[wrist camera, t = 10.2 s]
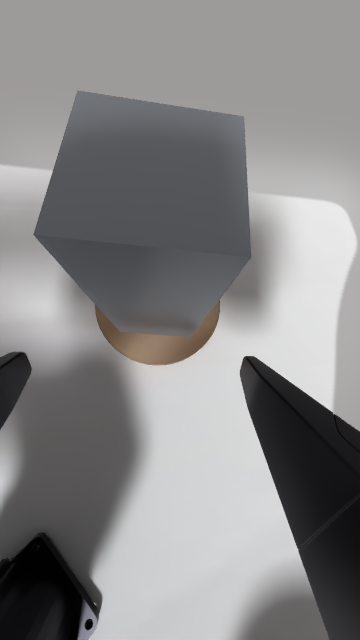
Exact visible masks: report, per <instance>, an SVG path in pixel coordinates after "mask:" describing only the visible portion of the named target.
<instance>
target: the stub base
mask: <svg viewBox="0 0 360 640" xmlns="http://www.w3.org/2000/svg"><path fill="white" fill-rule="evenodd" d="M95 310H96V317H97V321H98V324H99V327H100V329H101V331H102V333H103V335H104V336H105V338H106V339H107V340H108V342H109V343H110V344H111V345H112V346H113V347H114V348H115V349H116V350H118V351H119V352H120V353H122V354H123V355H125V356H126V357H128V358H130V359H132V360H134V361H137V362H140V363H144V364H148V365H167V364H173V363H176V362H179V361H182V360H184V359H186V358H188V357H190V356H191V355H193V354H194V353H196V352H197V351H198V350H199V349H200V348H202V347H203V346H204V345H205V343H206V342H207V341H208V340H209V339H210V337H211V336H212V334H213V332H214V330H215V328H216V325H217V322H218V319H219V313H220V300H219V301H218V302H217V303H216V305H215V306H214V307H213V309H212V310H211V311H210V312H209V314H208V315H207V316H206V318H205V319H204V320H203V322H202V323H201V324H200V326H199V327H198V328H197V330H196V331H195V332H194V334H193V335H192V336H191V337H184V336H170V335H156V334H142V333H128V332H120V331H119V330H118V329H117V328H116V327H115V326H114V324H113V323H112V322H111V321H110V320H109V319H108V318H107V317H106V316H105V314H104V313H103V312H102V311H101V310H100V309H99V308H98V307H97V305H96V304H95Z"/></svg>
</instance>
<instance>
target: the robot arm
mask: <svg viewBox="0 0 360 640" xmlns="http://www.w3.org/2000/svg"><path fill="white" fill-rule="evenodd" d="M31 370H32V369H31V365H30V362H29V360H28V357H27V355H26V353H24V352H11V353H9V354H6V355H4V356H2V357H0V429H1V428H2V426H3V424H4V423H5V421H6V420H7V418H8V416H9V415H10V413H11V411H12V410H13V408H14V406H15V404H16V402H17V400H18V398H19V396H20V394H21V392H22V390H23V388H24V386H25V384H26V382H27V380H28V378H29V376H30V374H31ZM240 377H241V382H242V386H243V390H244V394H245V399H246V403H247V407H248V410H249V413H250V416H251V419H252V422H253V424H254V427H255V430H256V433H257V436H258V439H259V441H260V444H261V447H262V450H263V453H264V455H265V458H266V461H267V464H268V467H269V469H270V472H271V475H272V478H273V481H274V484H275V486H276V489H277V492H278V495H279V498H280V500H281V503H282V506H283V509H284V512H285V514H286V517H287V520H288V523H289V526H290V529H291V531H292V534H293V537H294V540H295V543H296V545H297V548H298V549H299V554H300V557H301V560H302V563H303V566H304V568H305V571H306V574H307V577H308V580H309V582H310V585H311V588H312V591H313V594H314V597H315V599H316V602H317V605H318V608H319V611H320V613H321V616H322V619H323V622H324V625H325V627H326V630H327V633H328V636H329V639H330V640H360V431H358V430H356V429H355V428H354V427H352V426H351V425H349V424H348V423H346V422H345V421H344V420H342V419H341V418H340V417H338V416H337V415H335V414H334V415H333V413H332V412H331V411H330V410H328V409H327V408H326V407H324V406H323V405H321V404H320V403H319V402H317V401H316V400H314V399H313V398H312V397H310V396H309V395H307V394H306V393H305V392H303V391H302V390H300V389H299V388H298V387H296V386H295V385H293V384H292V383H291V382H289V381H288V380H286V379H285V378H284V377H282V376H281V375H280V374H278V373H277V372H275V371H274V370H273V369H271V368H270V367H268V366H267V365H266V364H264V363H263V362H261V361H260V360H259V359H257V358H256V357H254V356H245V357H244V358H243V362H242V365H241V369H240ZM36 542H39V543H40V545H41V546H40V547H38V546H37V545H36ZM88 619H92V620H93V622H90V623H89V622H88V621H87V620H88ZM98 619H99V611H98V609H97V608H96V606H95V605H94V603H93V602H92V600H91V599H90V597H89V596H88V594H87V593H86V592H85V590H84V589H83V587H82V586H81V584H80V583H79V581H78V580H77V579H76V577H75V576H74V574H73V573H72V571H71V570H70V568H69V567H68V565H67V564H66V563H65V561H64V560H63V558H62V557H61V555H60V554H59V552H58V551H57V550H56V548H55V547H54V545H53V544H52V542H51V541H50V539H49V538H48V536H47V535H46V534H45V533H42V532H41V533H38V534H37V535H35V536H34V537H33V538H32V539H31V540H30V541H29V542H28V544H27V545H26V546H25V547H24V548H23V549H22V550H21V551H20V552H19V553H18V554H17V555H16V556H15V557H14V558H13V559H12V560H11V561H9V559H8V558H7V559H2V560H1V561H0V640H88V639H89V638H90V636H91V635H92V634H93V633H94V631H95V629H96V627H97V623H98Z"/></svg>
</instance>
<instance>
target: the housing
mask: <svg viewBox="0 0 360 640" xmlns="http://www.w3.org/2000/svg"><path fill="white" fill-rule="evenodd" d="M34 236H35V237H36V238H37V239H38V240H39V241H40V242H41V244H42V245H43V246H44V247H45V248H46V249H47V250H48V251H49V253H50V254H51V255H52V256H53V257H54V258H55V259H56V260H57V262H58V263H59V264H60V265H61V266H62V267H63V268H64V269H65V271H66V272H67V273H68V274H69V275H70V276H71V277H72V278H73V280H74V281H75V282H76V283H77V284H78V285H79V286H80V287H81V289H82V290H83V291H84V292H85V293H86V294H87V295H88V296H89V298H90V299H91V300H92V301H93V302H94V303H95V304H96V305H97V307H98V308H99V309H100V310H101V311H102V312H103V313H104V314H105V316H106V317H107V318H108V319H109V320H110V321H111V322H112V323H113V324H114V326H115V327H116V328H117V329H118V330H119V331H120V332H128V333H142V334H156V335H170V336H184V337H191V336H192V335H193V334H194V332H195V331H196V330H197V328H198V327H199V326H200V324H201V323H202V322H203V320H204V319H205V318H206V316H207V315H208V314H209V312H210V311H211V310H212V309H213V307H214V306H215V305H216V303H217V302H218V301H219V299H220V298H221V297H222V295H223V294H224V293H225V291H226V290H227V289H228V287H229V286H230V285H231V283H232V282H233V281H234V279H235V278H236V277H237V275H238V274H239V273H240V271H241V270H242V269H243V267H244V266H245V265H246V263H247V262H248V261H249V259H250V258H251V247H250V227H249V207H248V188H247V168H246V147H245V128H244V117H243V116H237V115H231V114H224V113H218V112H211V111H205V110H199V109H192V108H185V107H179V106H173V105H167V104H159V103H153V102H147V101H141V100H135V99H128V98H122V97H115V96H109V95H103V94H96V93H90V92H83V91H77V94H76V97H75V101H74V104H73V107H72V111H71V114H70V117H69V121H68V124H67V127H66V130H65V134H64V137H63V140H62V143H61V147H60V150H59V153H58V156H57V160H56V163H55V166H54V169H53V173H52V176H51V179H50V182H49V186H48V189H47V192H46V196H45V199H44V202H43V205H42V209H41V212H40V215H39V218H38V222H37V225H36V228H35V232H34Z"/></svg>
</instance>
